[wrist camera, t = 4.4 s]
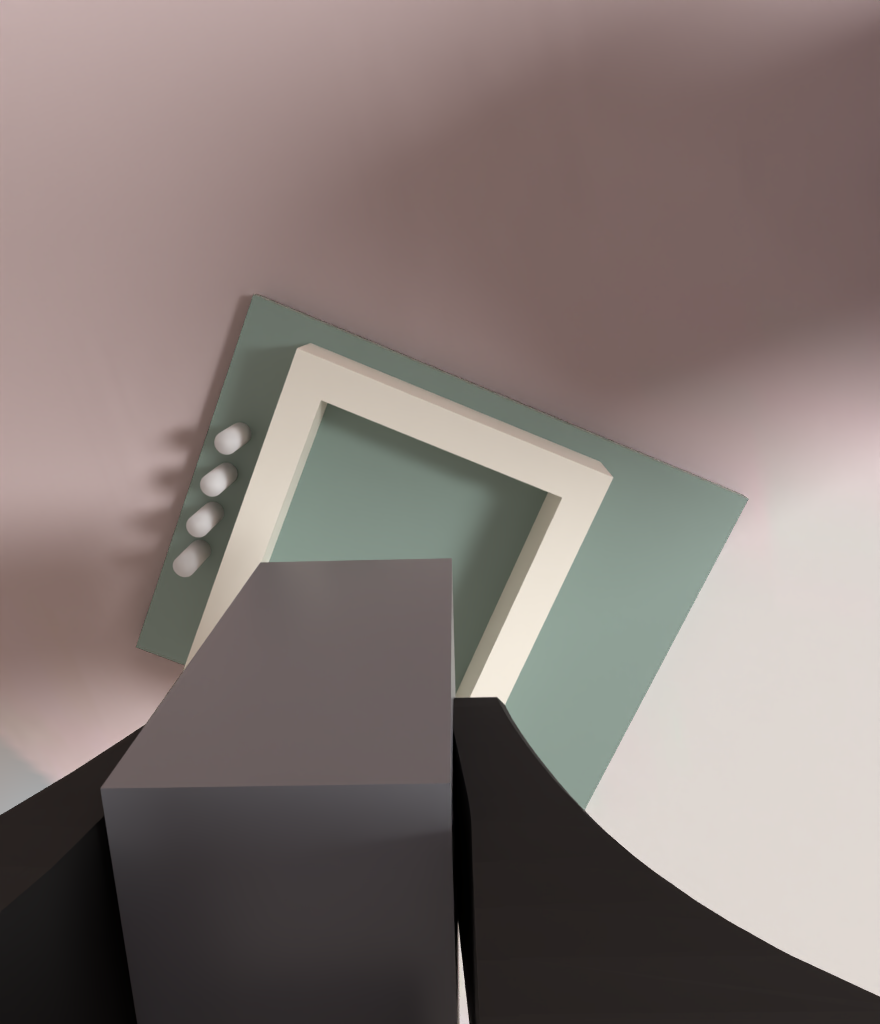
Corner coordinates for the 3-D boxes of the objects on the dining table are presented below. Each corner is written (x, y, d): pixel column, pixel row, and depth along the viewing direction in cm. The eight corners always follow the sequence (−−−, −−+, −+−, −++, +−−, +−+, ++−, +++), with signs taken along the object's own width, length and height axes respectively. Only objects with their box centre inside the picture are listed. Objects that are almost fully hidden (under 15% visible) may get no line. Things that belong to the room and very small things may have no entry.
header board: (742, 494, 19) (789, 528, 16) (580, 803, 21) (598, 877, 19) (257, 294, 18) (223, 295, 15) (141, 640, 20) (93, 694, 18)
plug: (452, 558, 13) (449, 863, 6) (457, 783, 14) (462, 1259, 7) (260, 562, 13) (43, 869, 6) (280, 786, 14) (116, 1259, 7)
